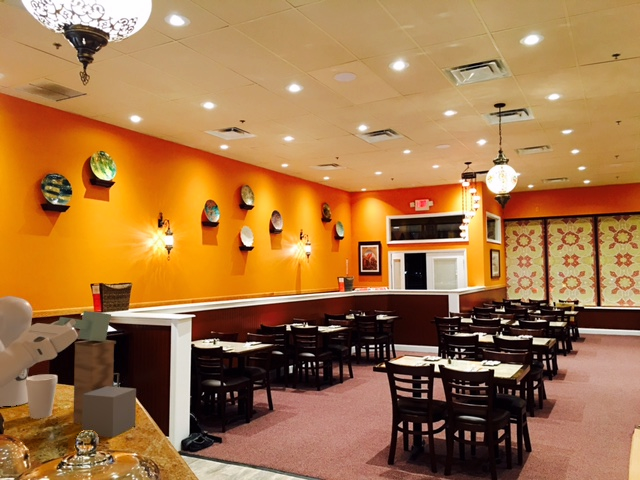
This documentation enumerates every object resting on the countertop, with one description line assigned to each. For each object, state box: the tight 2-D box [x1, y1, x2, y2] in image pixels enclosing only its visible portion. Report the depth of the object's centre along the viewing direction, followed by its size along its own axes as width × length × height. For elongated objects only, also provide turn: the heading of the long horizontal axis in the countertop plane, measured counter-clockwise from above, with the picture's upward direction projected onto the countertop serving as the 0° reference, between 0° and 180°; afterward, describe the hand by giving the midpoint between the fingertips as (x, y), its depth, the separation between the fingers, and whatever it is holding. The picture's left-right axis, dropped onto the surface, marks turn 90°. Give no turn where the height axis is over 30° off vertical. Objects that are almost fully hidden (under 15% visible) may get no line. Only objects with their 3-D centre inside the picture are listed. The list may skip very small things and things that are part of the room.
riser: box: [81, 386, 137, 439], centre depth 165 cm, size 11×11×12 cm
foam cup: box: [26, 373, 58, 420], centre depth 179 cm, size 10×9×13 cm
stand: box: [72, 339, 117, 426], centre depth 174 cm, size 9×10×26 cm
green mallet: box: [58, 310, 112, 342], centre depth 171 cm, size 17×6×9 cm, turn 149°
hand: (69, 320), depth 167 cm, fingers closed on green mallet, 3 cm apart
